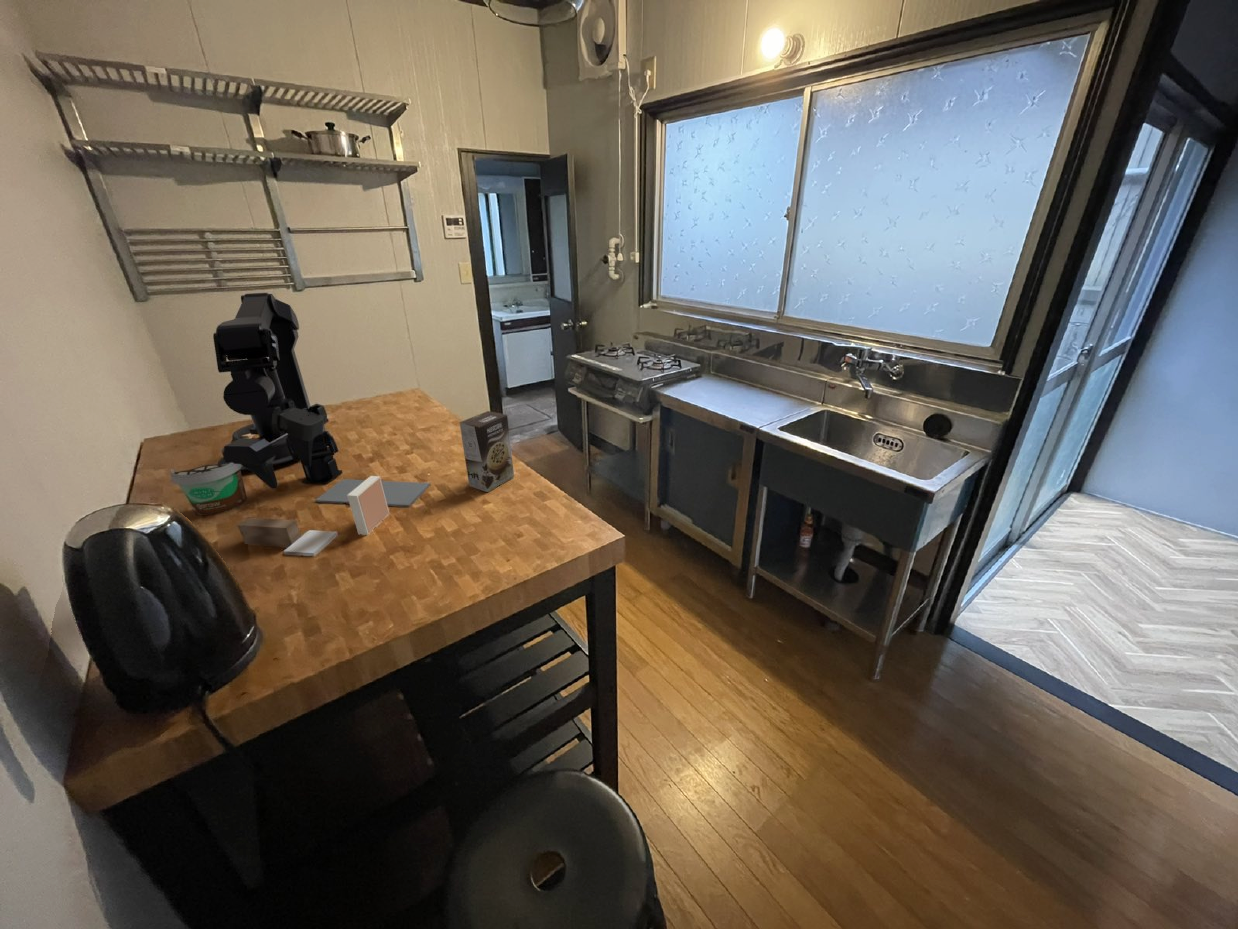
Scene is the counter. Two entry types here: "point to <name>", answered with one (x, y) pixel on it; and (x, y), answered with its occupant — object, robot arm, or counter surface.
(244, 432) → the casserole
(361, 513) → the glazed tile
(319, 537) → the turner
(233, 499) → the food container
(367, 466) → the counter surface
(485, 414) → the coffee box
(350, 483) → the rest mat
